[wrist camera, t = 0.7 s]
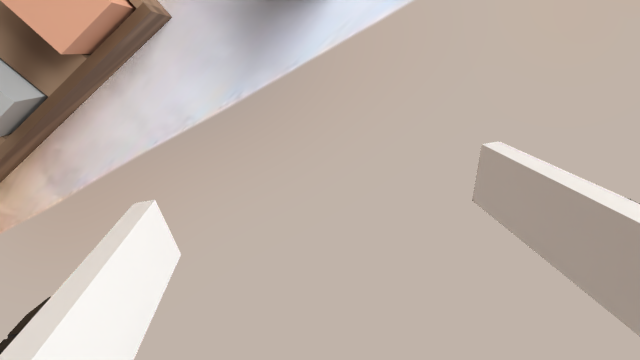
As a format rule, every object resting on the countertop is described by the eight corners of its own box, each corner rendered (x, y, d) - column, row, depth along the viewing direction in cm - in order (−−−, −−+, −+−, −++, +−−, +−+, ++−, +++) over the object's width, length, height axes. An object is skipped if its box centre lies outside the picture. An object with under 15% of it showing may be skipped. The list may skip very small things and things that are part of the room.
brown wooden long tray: (-96, 146, 30) (-163, 163, 25) (97, -69, 24) (56, -95, 20) (-14, 195, 33) (-60, 218, 29) (171, 17, 28) (151, 11, 23)
